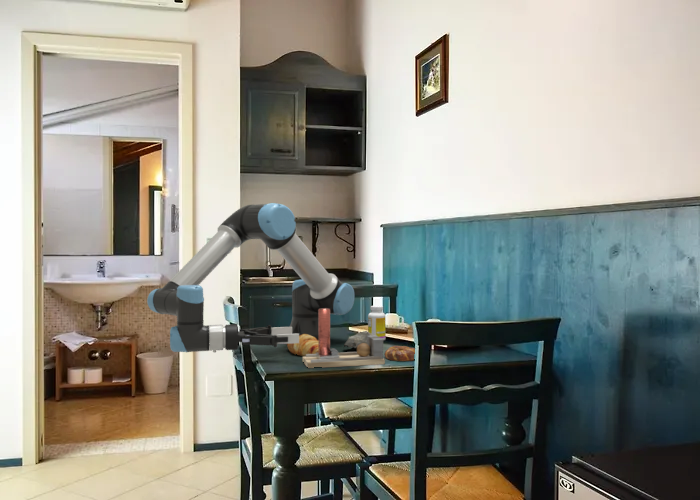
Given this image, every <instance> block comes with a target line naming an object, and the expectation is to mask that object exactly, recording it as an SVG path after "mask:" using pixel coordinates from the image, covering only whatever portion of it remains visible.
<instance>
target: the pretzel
mask: <svg viewBox="0 0 700 500" xmlns="http://www.w3.org/2000/svg"><path fill="white" fill-rule="evenodd" d="M415 349H416V348H415V347H409V346H406V345H403V346H402V345H391V346H390V347H388V348H387V349H386V350H385V351H384V353H383V356H384V359H385V360H386V359H387V360H389V361H396V362H412V361H415V360H414V354H415Z"/></svg>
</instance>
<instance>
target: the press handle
mask: <svg viewBox="0 0 700 500" xmlns="http://www.w3.org/2000/svg"><path fill="white" fill-rule="evenodd" d="M318 341H319V352H316V357H317V358H318V359H333V358H340V356H339V355H338V353H339V350H337V349H336V348H334V347H333V348H332V347H331V314H330V309H328V308H321V309H319V340H318Z"/></svg>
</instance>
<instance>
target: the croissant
mask: <svg viewBox="0 0 700 500" xmlns="http://www.w3.org/2000/svg"><path fill="white" fill-rule="evenodd" d="M286 346H287V349H288V350H289V352H290V353H291V354H294V355H296V354H297V356H301V357H306V354H316V352H319V340H317V339H316V338H315V337H313V336H311V335H308V334H302V335H300V336H299V343H291V344H286Z"/></svg>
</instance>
